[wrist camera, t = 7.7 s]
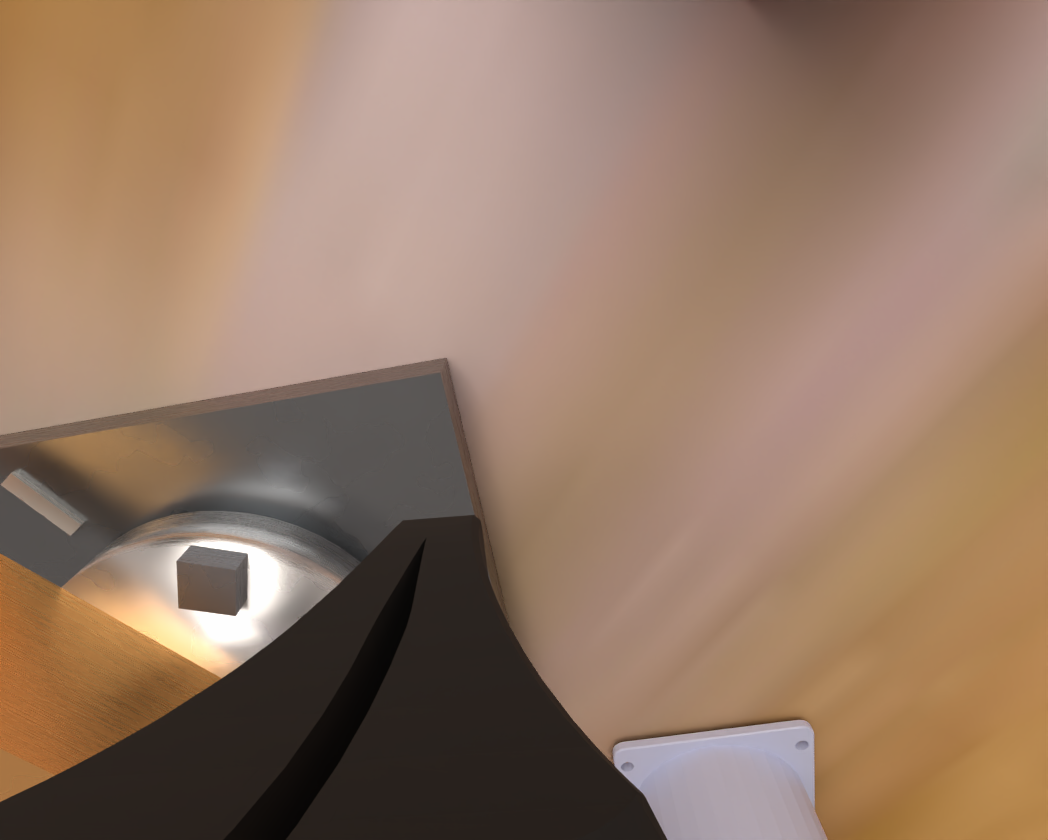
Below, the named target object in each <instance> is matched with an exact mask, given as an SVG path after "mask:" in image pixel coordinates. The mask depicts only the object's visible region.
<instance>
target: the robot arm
mask: <svg viewBox="0 0 1048 840" xmlns="http://www.w3.org/2000/svg"><path fill="white" fill-rule="evenodd" d="M613 759H614V765H615V766H614V765H613V764H612V763H611V762H610V761H609V760H608V759H607V758H606V756H605V755H604V754H603V753H602V752H601V751H600V750H599V749H598V748H597V747H596V746H595V745H594V744H593V742H592V741H591V740H590V739H589V738H588V737H587V736H586V735H585V733H584V732H583V731H582V730H581V729H580V728H579V727H578V725H577V724H576V723H575V722H574V721H573V720H572V718H571V717H570V716H569V714H568V713H567V712H566V710H565V709H564V708H563V707H562V705H561V704H560V703H559V701H558V700H557V699H556V697H555V696H554V695H553V693H552V692H551V691H550V689H549V688H548V687H547V686H546V684H545V683H544V682H543V680H542V679H541V677H540V676H539V674H538V673H537V671H536V670H535V668H534V667H533V665H532V664H531V662H530V661H529V659H528V657H527V656H526V654H525V653H524V651H523V649H522V647H521V646H520V644H519V642H518V641H517V639H516V637H515V635H514V633H513V632H512V630H511V628H510V626H509V624H508V622H507V620H506V618H505V616H504V614H503V611H502V609H501V607H500V605H499V603H498V601H497V598H496V596H495V593H494V591H493V588H492V586H491V583H490V580H489V576H488V569H487V562H486V554H485V547H484V540H483V532H482V525H481V520H480V519H478V518H477V517H476V516H475V515H466V516H453V517H440V518H427V519H414V520H403V521H402V522H401V523H399V524H398V525H397V526H396V527H395V528H394V529H393V530H392V531H391V532H390V533H389V534H388V535H387V536H386V537H385V538H384V539H383V540H382V541H381V542H380V543H379V544H378V545H377V547H376V548H375V549H374V550H373V551H372V552H371V553H370V554H369V555H368V556H367V557H366V558H365V559H364V560H363V561H362V562H361V563H360V564H359V565H358V566H357V567H356V568H355V569H354V570H353V571H351V572H350V573H349V574H348V575H347V576H346V577H345V578H344V579H343V580H342V581H341V582H340V583H339V584H338V585H337V586H336V587H335V588H334V589H333V590H332V591H331V592H329V593H328V594H327V595H326V596H325V597H324V598H323V599H322V600H320V601H319V602H318V603H317V604H316V605H315V606H314V607H313V608H311V609H310V610H309V611H308V612H307V613H306V614H305V615H304V616H302V617H301V618H300V619H299V620H298V621H297V622H296V623H295V624H293V625H292V626H291V627H290V628H289V629H287V630H286V631H285V632H284V633H282V634H281V635H280V636H279V637H277V638H276V639H275V640H274V641H272V642H271V643H270V644H269V645H267V646H266V647H265V648H263V649H262V650H261V651H259V652H258V653H256V654H255V655H254V656H252V657H251V658H250V659H248V660H247V661H246V662H244V663H243V664H242V665H240V666H239V667H237V668H236V669H235V670H233V671H232V672H230V673H229V674H227V675H226V676H225V677H223V678H222V679H220V680H218V681H217V682H215V683H214V684H212V685H211V686H209V687H208V688H206V689H204V690H203V691H201V692H200V693H198V694H197V695H195V696H194V697H192V698H190V699H189V700H187V701H186V702H184V703H183V704H181V705H180V706H178V707H176V708H175V709H173V710H172V711H170V712H169V713H167V714H166V715H164V716H162V717H161V718H159V719H157V720H156V721H154V722H152V723H151V724H149V725H147V726H145V727H144V728H142V729H140V730H138V731H137V732H135V733H133V734H131V735H130V736H128V737H126V738H124V739H123V740H121V741H119V742H117V743H116V744H114V745H112V746H110V747H108V748H106V749H104V750H103V751H101V752H99V753H97V754H95V755H93V756H91V757H90V758H88V759H86V760H84V761H82V762H80V763H78V764H77V765H75V766H73V767H71V768H69V769H67V770H65V771H63V772H61V773H59V774H57V775H55V776H53V777H51V778H49V779H47V780H45V781H43V782H41V783H39V784H37V785H35V786H33V787H30V788H28V789H26V790H24V791H22V792H20V793H18V794H16V795H14V796H11V797H9V798H7V799H5V800H3V801H1V802H0V840H828V839H827V837H826V835H825V832H824V830H823V828H822V826H821V823H820V821H819V819H818V817H817V814H816V812H815V772H814V732H813V729H812V727H811V725H810V724H809V723H808V722H807V721H804V720H792V721H784V722H776V723H768V724H760V725H752V726H744V727H737V728H729V729H721V730H713V731H705V732H697V733H689V734H681V735H673V736H665V737H657V738H649V739H641V740H633V741H625V742H621V743H618V744H617V745H615V746H614V748H613ZM626 762H628V763H626Z"/></svg>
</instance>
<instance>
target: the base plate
mask: <svg viewBox="0 0 1048 840" xmlns="http://www.w3.org/2000/svg"><path fill="white" fill-rule="evenodd" d="M196 511H233V512H243V513H251V514H256V515H261V516H266V517H270V518H275V519H278V520H281V521H284V522H287V523H290V524H293V525H297V526H299V527H301V528H304V529H306V530H308V531H311V532H313V533H315V534H317V535H320V536H322V537H323V538H325V539H327V540H329V541H330V542H332V543H334V544H336V545H337V546H339V547H341V548H342V549H344V550H345V551H347V552H348V553H349V554H351V555H352V556H353V557H355V558H356V559H357V560H359V561H360V562H362V561H363V560H364V559H365V558H366V557H367V556H368V555H369V554H370V553H371V552H372V551H373V550H374V549H375V548H376V547H377V545H378V544H379V543H380V542H381V541H382V540H383V539H384V538H385V537H386V536H387V535H388V534H389V533H390V532H391V531H392V530H393V529H394V528H395V527H396V526H397V525H398V524H399V523H401V522H402V521H403V520H414V519H427V518H440V517H453V516H466V515H475V516H476V517H477V518H478V519H480V520H481V525H482V532H483V540H484V547H485V554H486V562H487V569H488V576H489V580H490V583H491V586H492V588H493V591H494V593H495V596H496V598H497V601H498V603H499V605H500V607H501V609H502V611H503V614H504V616H505V618H506V620H507V622H508V624H509V621H508V617H507V613H506V609H505V604H504V600H503V596H502V592H501V587H500V583H499V579H498V575H497V570H496V566H495V562H494V558H493V553H492V549H491V545H490V541H489V537H488V532H487V528H486V524H485V520H484V515H483V511H482V507H481V503H480V498H479V494H478V490H477V486H476V481H475V477H474V473H473V469H472V464H471V460H470V456H469V452H468V447H467V443H466V439H465V435H464V430H463V426H462V422H461V418H460V413H459V409H458V405H457V401H456V396H455V392H454V388H453V384H452V380H451V375H450V371H449V367H448V363H447V358H443V359H438V360H432V361H426V362H420V363H415V364H409V365H403V366H397V367H392V368H386V369H380V370H374V371H369V372H363V373H357V374H351V375H346V376H340V377H334V378H328V379H323V380H317V381H311V382H305V383H300V384H294V385H288V386H282V387H277V388H271V389H265V390H260V391H254V392H248V393H242V394H237V395H231V396H225V397H219V398H214V399H208V400H202V401H196V402H191V403H185V404H179V405H173V406H168V407H162V408H156V409H150V410H145V411H139V412H133V413H127V414H122V415H116V416H110V417H104V418H99V419H93V420H87V421H81V422H76V423H70V424H64V425H58V426H53V427H47V428H41V429H35V430H30V431H24V432H18V433H12V434H7V435H1V436H0V554H2V555H4V556H6V557H7V558H9V559H11V560H13V561H14V562H16V563H18V564H20V565H22V566H23V567H25V568H27V569H29V570H30V571H32V572H34V573H36V574H37V575H39V576H41V577H43V578H45V579H46V580H48V581H50V582H52V583H53V584H55V585H57V586H59V587H62V586H63V585H64V584H66V583H67V582H68V581H69V580H70V579H71V578H72V577H73V576H74V575H76V574H77V573H78V572H79V571H80V570H81V569H82V568H83V567H84V566H86V565H87V564H88V563H89V562H90V561H91V560H92V559H93V558H94V557H95V556H97V555H98V554H99V553H100V552H101V551H102V550H103V549H105V548H106V547H107V546H108V545H109V544H110V543H112V542H113V541H114V540H115V539H117V538H118V537H120V536H122V535H123V534H125V533H127V532H128V531H130V530H132V529H133V528H136V527H138V526H141V525H143V524H145V523H148V522H150V521H152V520H156V519H160V518H163V517H167V516H171V515H174V514H181V513H188V512H196Z"/></svg>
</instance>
